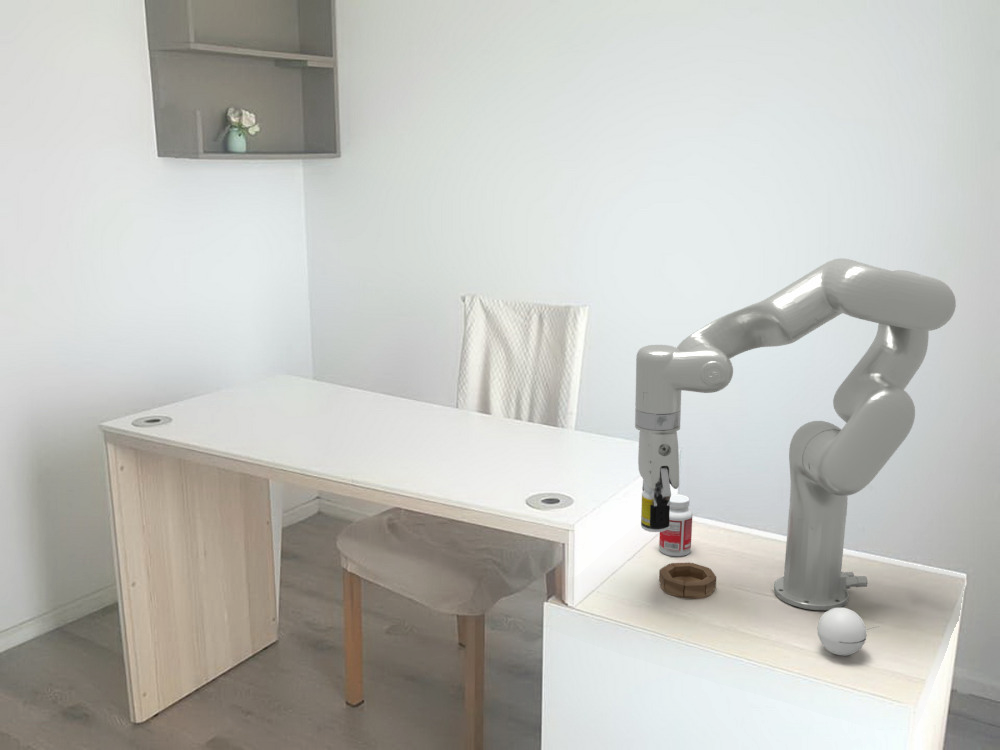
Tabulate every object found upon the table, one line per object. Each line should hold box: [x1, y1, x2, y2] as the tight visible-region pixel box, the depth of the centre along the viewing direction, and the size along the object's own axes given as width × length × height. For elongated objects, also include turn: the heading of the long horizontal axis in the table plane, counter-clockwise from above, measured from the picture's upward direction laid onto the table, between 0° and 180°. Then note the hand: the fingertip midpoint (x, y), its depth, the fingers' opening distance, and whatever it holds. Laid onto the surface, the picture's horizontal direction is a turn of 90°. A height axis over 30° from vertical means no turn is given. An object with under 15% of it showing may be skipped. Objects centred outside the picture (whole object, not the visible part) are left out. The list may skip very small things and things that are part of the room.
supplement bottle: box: [640, 481, 668, 533], centre depth 168 cm, size 5×5×8 cm
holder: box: [658, 562, 717, 600], centre depth 177 cm, size 10×10×3 cm
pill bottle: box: [658, 493, 693, 557], centre depth 192 cm, size 6×6×11 cm
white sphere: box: [817, 607, 880, 656], centre depth 154 cm, size 10×7×7 cm
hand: (655, 519), depth 169 cm, fingers closed on supplement bottle, 4 cm apart
